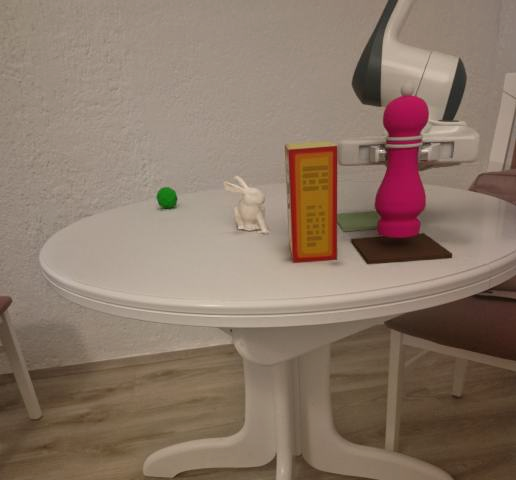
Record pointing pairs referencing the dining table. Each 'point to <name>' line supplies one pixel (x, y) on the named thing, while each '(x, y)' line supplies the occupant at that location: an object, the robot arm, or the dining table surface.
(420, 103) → the pepper mill
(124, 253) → the dining table surface
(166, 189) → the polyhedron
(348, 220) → the sage mat
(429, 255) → the dark mat
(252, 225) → the rabbit figurine
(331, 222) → the baking soda box
